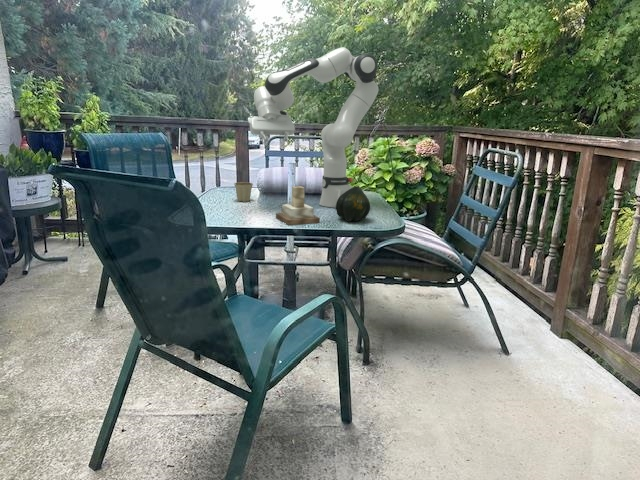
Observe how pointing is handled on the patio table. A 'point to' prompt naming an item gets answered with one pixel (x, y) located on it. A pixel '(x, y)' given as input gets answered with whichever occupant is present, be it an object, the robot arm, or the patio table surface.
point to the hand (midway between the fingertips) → (276, 140)
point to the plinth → (297, 221)
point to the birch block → (298, 196)
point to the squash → (353, 205)
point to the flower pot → (243, 191)
